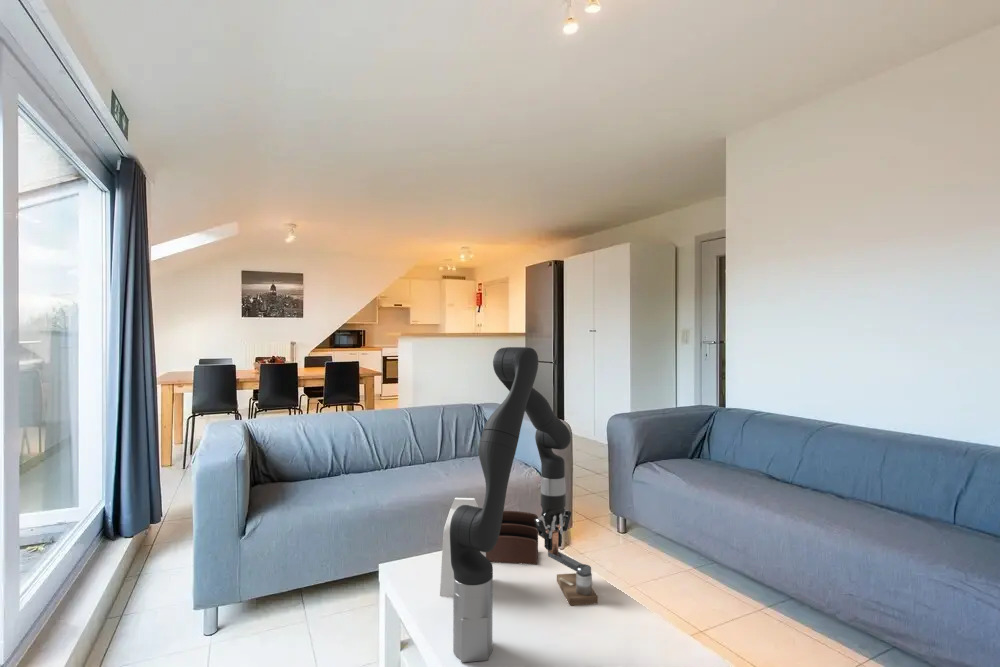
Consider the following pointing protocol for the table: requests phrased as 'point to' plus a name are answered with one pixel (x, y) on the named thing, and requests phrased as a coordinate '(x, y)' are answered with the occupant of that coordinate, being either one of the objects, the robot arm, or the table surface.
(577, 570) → the lever
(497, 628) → the table surface
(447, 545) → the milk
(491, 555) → the letter holder
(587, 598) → the press bench
